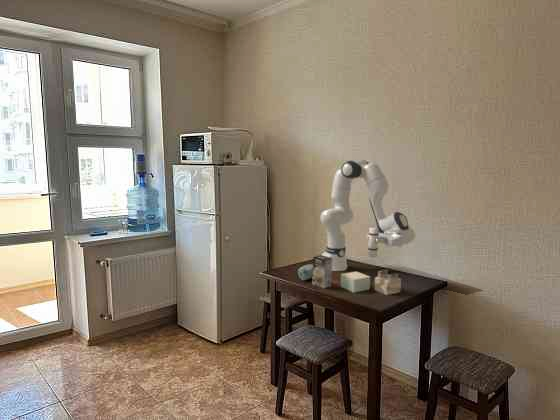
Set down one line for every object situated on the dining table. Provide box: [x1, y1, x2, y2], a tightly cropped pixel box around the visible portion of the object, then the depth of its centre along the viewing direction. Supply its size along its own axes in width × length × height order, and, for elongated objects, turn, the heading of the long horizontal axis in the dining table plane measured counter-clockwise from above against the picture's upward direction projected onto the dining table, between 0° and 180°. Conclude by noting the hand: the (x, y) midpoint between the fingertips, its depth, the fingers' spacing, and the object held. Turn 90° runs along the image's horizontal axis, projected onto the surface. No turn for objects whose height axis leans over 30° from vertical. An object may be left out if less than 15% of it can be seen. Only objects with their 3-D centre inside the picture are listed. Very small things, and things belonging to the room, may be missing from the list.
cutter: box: [331, 279, 342, 288], centre depth 214 cm, size 14×6×1 cm, turn 50°
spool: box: [297, 263, 313, 282], centre depth 226 cm, size 14×10×10 cm
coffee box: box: [311, 254, 333, 289], centre depth 214 cm, size 9×6×16 cm
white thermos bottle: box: [367, 227, 379, 258], centre depth 206 cm, size 5×5×15 cm
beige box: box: [340, 271, 371, 293], centre depth 211 cm, size 11×11×7 cm
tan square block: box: [373, 269, 402, 296], centre depth 206 cm, size 9×10×10 cm
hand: (372, 239), depth 205 cm, fingers closed on white thermos bottle, 5 cm apart
